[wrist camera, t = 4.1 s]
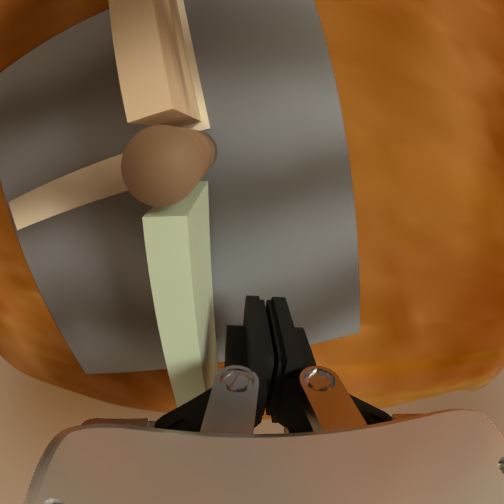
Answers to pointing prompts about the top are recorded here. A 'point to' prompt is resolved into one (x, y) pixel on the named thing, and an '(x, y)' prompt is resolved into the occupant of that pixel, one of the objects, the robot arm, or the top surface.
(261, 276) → the base
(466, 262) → the top surface
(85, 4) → the top surface
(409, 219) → the top surface
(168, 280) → the bar
